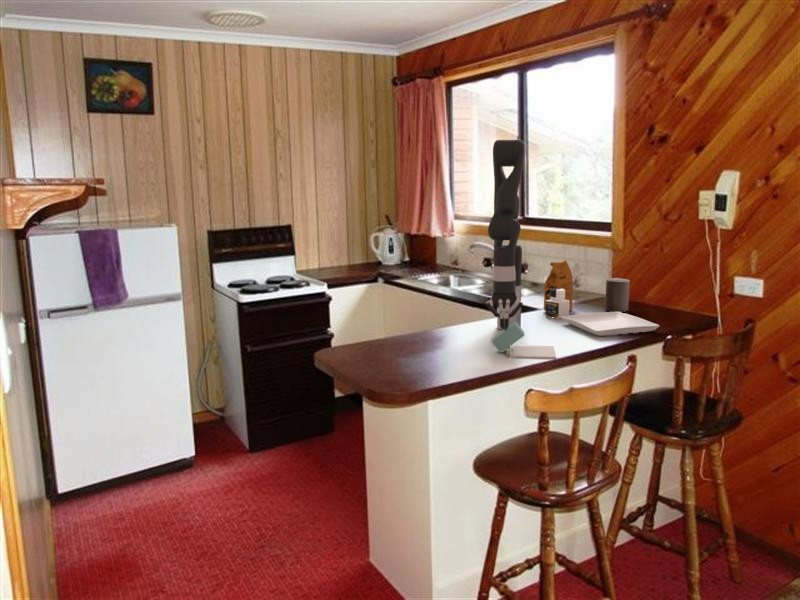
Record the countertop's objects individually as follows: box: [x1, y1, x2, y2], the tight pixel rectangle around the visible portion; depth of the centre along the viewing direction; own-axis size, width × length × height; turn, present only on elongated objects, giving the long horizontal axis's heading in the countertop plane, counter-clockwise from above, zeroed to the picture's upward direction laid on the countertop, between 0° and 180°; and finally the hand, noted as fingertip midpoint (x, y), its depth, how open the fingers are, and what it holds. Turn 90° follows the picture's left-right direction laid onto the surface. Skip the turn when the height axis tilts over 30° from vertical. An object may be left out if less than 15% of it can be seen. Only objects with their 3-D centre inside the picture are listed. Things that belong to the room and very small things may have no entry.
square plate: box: [561, 311, 660, 337], centre depth 260 cm, size 27×27×4 cm
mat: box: [512, 344, 557, 360], centre depth 228 cm, size 14×14×1 cm
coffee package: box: [543, 259, 574, 312], centre depth 292 cm, size 10×12×22 cm
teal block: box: [491, 321, 525, 354], centre depth 229 cm, size 5×5×10 cm
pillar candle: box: [604, 276, 631, 313], centre depth 290 cm, size 10×10×15 cm
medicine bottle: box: [545, 288, 570, 319], centre depth 281 cm, size 7×7×12 cm
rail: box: [506, 346, 511, 359], centre depth 230 cm, size 14×1×2 cm, turn 171°
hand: (504, 328), depth 228 cm, fingers closed
